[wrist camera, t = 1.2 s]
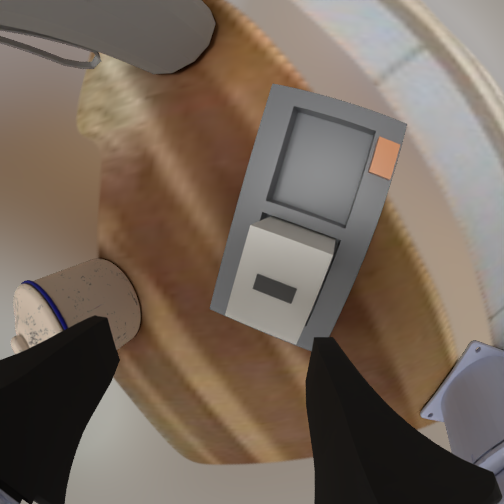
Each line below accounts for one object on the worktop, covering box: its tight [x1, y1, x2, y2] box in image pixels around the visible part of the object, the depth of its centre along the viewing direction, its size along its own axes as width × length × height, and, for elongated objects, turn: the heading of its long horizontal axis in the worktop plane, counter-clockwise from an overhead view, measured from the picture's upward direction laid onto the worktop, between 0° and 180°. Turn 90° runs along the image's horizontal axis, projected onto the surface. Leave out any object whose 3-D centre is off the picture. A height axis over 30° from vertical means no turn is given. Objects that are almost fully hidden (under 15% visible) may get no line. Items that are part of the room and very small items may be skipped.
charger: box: [225, 216, 336, 345], centre depth 16 cm, size 4×5×5 cm
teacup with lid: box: [11, 259, 141, 354], centre depth 20 cm, size 12×9×12 cm
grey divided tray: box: [210, 84, 407, 351], centre depth 17 cm, size 8×15×3 cm, turn 164°
